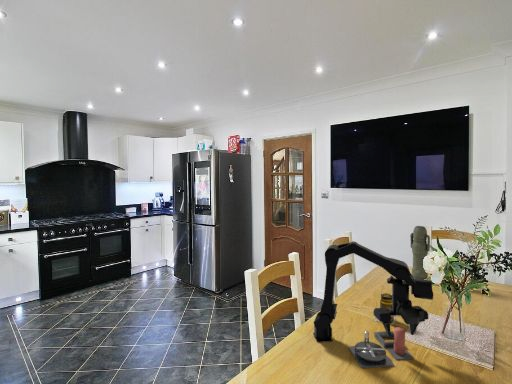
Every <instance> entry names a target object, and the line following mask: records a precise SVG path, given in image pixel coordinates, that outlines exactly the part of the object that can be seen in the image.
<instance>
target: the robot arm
mask: <svg viewBox="0 0 512 384" xmlns="http://www.w3.org/2000/svg"><path fill="white" fill-rule="evenodd" d="M352 254H353V255H356V256H358V257H360V258H363V259H364V260H366V261H368V262H370V263H372V264H374V265H376V266H378V267H380V268H382V269H384V271H386V272H388V274H389V275H390V276H389V277H388V278H387V279H386V283H387V284H389V285H390V284H391V285H392V288H391V289H392V290H391V293H392V294H390V298H391V299H392V305H390V308H391V309H392V311H387V310H386V309H385V308H380V307H375V308H374V309H373V316H374V318H375V317H376V318H377V319H378V320H379V321H381V322H380V323H381V324H382V325H383V327H384V329H385V332H386V333H387V335H388V336H389V337H388V338H391V337H390V331H391V325H392V324H391V323H392V322H391V321H390V320H391V317H393V316H394V317H400V318H401V319H402V320H403V322H404V323H405V324H406V325H408V326H409V332H410V335H411V336H414V335H415V333H416V330H417V328H418V326H419V324H420V323H422V322H425V321H426V320H429V313H428V310H425V309H424V308H423V307H421V305H413V303H412V302H413V301H412V300H411V299H410V295H411V296H412V295H413V297H414V298H415V299H422V300H430V301H433V300H434V291H433V282H432V280H430V279H427V280H419V279H414V277H413V275H412V272H411V271H410V268H409V266H408V264H407V263H406V262H405V261H403V260H399V259H396V258H392V257H387V256H384V255H382V254H381V253H380V252H379V253H378V252H376V251H374V250H372V249H370V248H368V247H366V246H364V245H362V244H360V243H358V242H356V241H353V240H352V241H350V242H346V243H341V244H338V245H337V244H331V245H329V246H328V247H327V248H326V250H325V252H324V262H325V267H326V274H325V280H324V281H325V283H324V293H323V302H322V303H321V307H320V310H319V312H317V314H316V316H315V318H314V320H313V324H314V325H313V326H314V328H313V333H312V334H313V336H314V339H315V341H316V342H317V343H325V342H326V343H327V342H333V339H332V337H333V328H332V323H333V322H334V320H335V319H336V317H337V313H338V311H337V306H338V303H335V301H334V296H335V287H336V278H337V267H338V264H339V261H340V259H341V258H345V257H347V256H349V255H352ZM410 293H411V294H410ZM379 321H378V322H379Z"/></svg>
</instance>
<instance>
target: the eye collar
mask: <svg viewBox="0 0 512 384" xmlns="http://www.w3.org/2000/svg"><path fill="white" fill-rule="evenodd" d="M373 334H374V338H375V339H376V341H377V342H378V343H379V345H380V346H381V347H383V348H384V349H386V348H390V347H394V330H393V331H392V330H390V337H389V336H388V335H387V333H386V331H375V332H374V333H373ZM384 338H391V339H393V340H391V341H390V340H389V341H385V339H384Z"/></svg>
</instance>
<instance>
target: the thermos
mask: <svg viewBox="0 0 512 384" xmlns="http://www.w3.org/2000/svg"><path fill="white" fill-rule="evenodd" d="M409 237H410V248H411V252H412V268H411V274H412V275H413V277H414V279H419V280H424V279H426V278H427V277H428V275H429V272H428V273H426V272H425V270H424V268H423V259H424V257H425V256H427V257H428V255H429V252H430V250H431V236H430V234H428V230H427V228H426V227H425V226H422V225H416V226H414V228H413V231H412V233H411V234H410V236H409ZM427 279H428V278H427Z"/></svg>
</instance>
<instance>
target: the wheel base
mask: <svg viewBox="0 0 512 384" xmlns="http://www.w3.org/2000/svg"><path fill="white" fill-rule="evenodd" d="M347 348H348V350H349V351H350V353H351V354H352V356H353V357H354V360H356V362H357V364H358V365H359V366H360V368H361V369H368V368H369V369H370V368H383V367H384V368H385V367H386V368H387V367H395V363H393V361H392V360H391V359H390V358H389V357H388V356H387V354H386V358H385V359H384V360H383V361H380V362H371V361H367V360H364V359H362V358H361V357H359V356H358V355H357V354H356V353H355V345H350V346H348V347H347Z"/></svg>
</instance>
